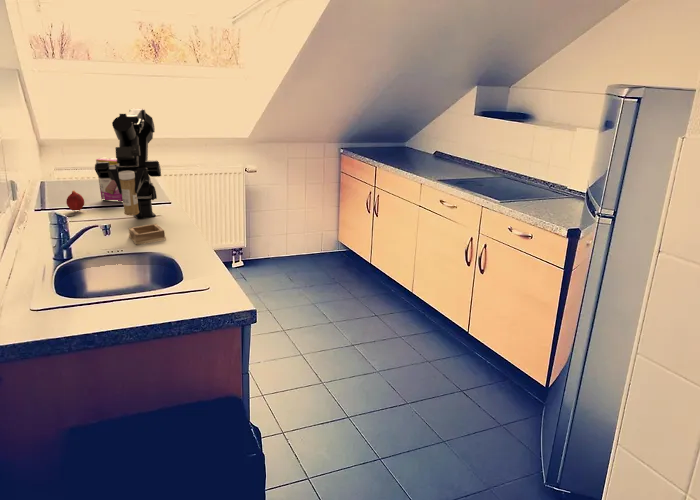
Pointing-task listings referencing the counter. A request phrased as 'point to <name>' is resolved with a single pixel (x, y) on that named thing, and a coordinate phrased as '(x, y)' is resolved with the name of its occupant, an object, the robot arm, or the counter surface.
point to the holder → (146, 234)
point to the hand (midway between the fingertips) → (128, 193)
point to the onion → (75, 201)
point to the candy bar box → (109, 183)
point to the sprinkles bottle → (129, 192)
